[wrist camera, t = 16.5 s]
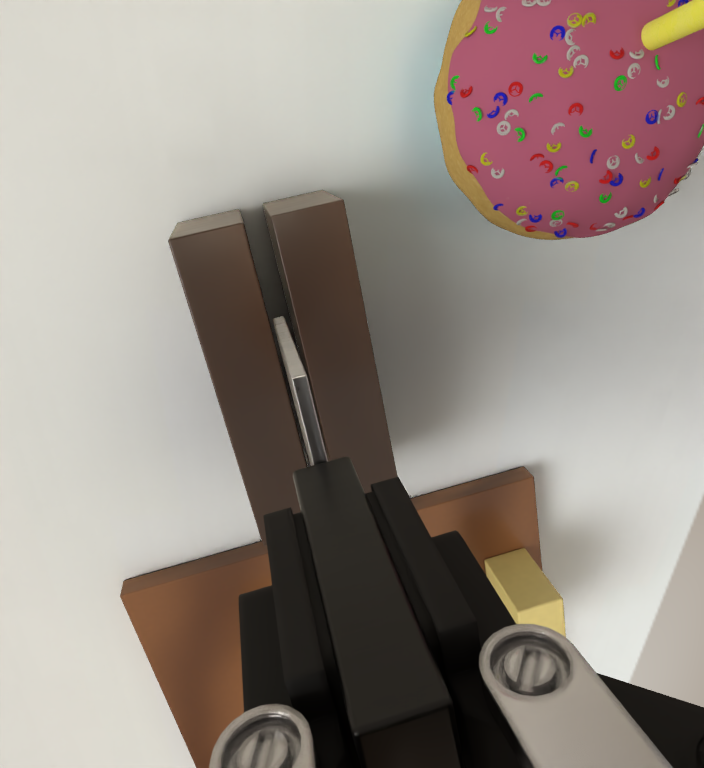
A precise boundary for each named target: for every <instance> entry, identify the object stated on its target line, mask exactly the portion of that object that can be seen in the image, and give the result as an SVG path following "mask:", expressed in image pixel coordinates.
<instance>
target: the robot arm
mask: <svg viewBox="0 0 704 768" xmlns="http://www.w3.org/2000/svg"><path fill="white" fill-rule="evenodd" d="M371 490H372V492H369V493H366V497H367V499H368V501H369V504H370V506H371V508H372V511H373V513H374V516H375V518H376V520H377V523H378V525H379V527H380V530H381V532H382V535H383V537H384V539H385V542H386V544H387V546H388V549H389V551H390V554H391V556H392V558H393V561H394V563H395V565H396V568H397V570H398V573H399V575H400V577H401V580H402V582H403V585H404V587H405V589H406V592H407V594H408V596H409V599H410V601H411V604H412V606H413V608H414V611H415V613H416V615H417V618H418V620H419V622H420V625H421V627H422V629H423V632H424V634H425V636H426V639H427V641H428V643H429V646H430V648H431V651H432V653H433V655H434V658H435V660H436V662H437V665H438V667H439V670H440V672H441V674H442V677H443V679H444V681H445V684H446V686H447V688H448V691H449V693H450V696H451V698H452V701H453V706H454V712H455V717H456V723H457V728H458V733H459V739H460V744H461V750H462V755H463V761H464V766H465V768H704V708H703V707H700V706H697V705H694V704H691V703H688V702H685V701H682V700H678V699H676V698H672V697H669V696H666V695H663V694H660V693H657V692H654V691H651V690H647V689H645V688H641V687H638V686H635V685H632V684H629V683H626V682H623V681H620V680H617V679H614V678H611V677H607V676H604V675H601V674H598V673H596V672H595V671H594V670H593V668H592V667H591V666H590V665H589V664H588V662H587V661H586V660H585V659H584V657H583V656H582V655H581V654H580V652H579V651H578V650H577V649H576V647H575V646H574V645H573V644H572V643H571V642H570V641H569V640H568V639H567V638H565V637H564V636H563V635H562V634H560V633H558V632H556V631H554V630H552V629H551V628H548V627H544V626H540V625H536V624H516V623H515V621H514V619H513V618H512V616H511V614H510V613H509V611H508V610H507V608H506V606H505V605H504V603H503V602H502V600H501V598H500V597H499V595H498V594H497V592H496V590H495V589H494V587H493V586H492V584H491V582H490V581H489V579H488V578H487V576H486V574H485V573H484V571H483V570H482V568H481V566H480V565H479V563H478V562H477V560H476V558H475V557H474V555H473V554H472V552H471V550H470V549H469V547H468V546H467V544H466V542H465V541H464V539H463V537H462V536H461V535H460V533H459V532H458V531H456V530H455V531H451V532H448V533H444V534H441V535H438V536H434V537H431V536H430V534H429V532H428V530H427V529H426V527H425V525H424V523H423V521H422V519H421V518H420V516H419V514H418V512H417V510H416V508H415V507H414V505H413V503H412V501H411V499H410V497H409V495H408V494H407V492H406V490H405V488H404V486H403V484H402V483H401V481H400V479H399V478H398V477H395V478H391V479H388V480H384V481H381V482H377V483H374V484H371ZM263 517H264V526H265V533H266V541H267V549H268V557H269V565H270V573H271V580H272V585H271V586H267V587H264V588H261V589H257V590H254V591H250V592H247V593H244V594H240V595H239V623H240V643H241V663H242V683H243V703H244V713H243V714H242V715H240V716H239V717H237V718H236V719H235V720H233V721H232V722H231V723H230V724H229V725H228V727H227V728H226V729H225V730H224V731H223V732H222V733H221V735H220V737H219V738H218V740H217V742H216V744H215V746H214V748H213V751H212V755H211V760H210V764H209V768H361V765H360V762H359V758H358V755H357V751H356V748H355V744H354V741H353V737H352V734H351V729H350V725H349V720H348V716H347V712H346V707H345V703H344V699H343V694H342V690H341V685H340V681H339V677H338V672H337V668H336V663H335V659H334V655H333V650H332V645H331V640H330V636H329V632H328V627H327V623H326V619H325V615H324V610H323V606H322V602H321V597H320V593H319V589H318V584H317V580H316V576H315V571H314V567H313V563H312V558H311V554H310V550H309V545H308V541H307V537H306V532H305V528H304V523H303V519H302V515H301V512H300V513H296V514H293V512H292V509H291V507H290V508H286V509H283V510H279V511H276V512H272V513H269V514H265V515H264V516H263Z"/></svg>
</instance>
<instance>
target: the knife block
mask: <svg viewBox="0 0 704 768" xmlns="http://www.w3.org/2000/svg"><path fill="white" fill-rule="evenodd" d="M263 209H264V213H265V217H266V221H267V226H268V230H269V234H270V238H271V242H272V246H273V250H274V254H275V258H276V262H277V266H278V270H279V274H280V278H281V282H282V286H283V291H284V295H285V299H286V303H287V307H288V311H289V315H290V319H291V323H292V327H293V331H294V335H295V339H296V343H297V347H298V351H299V356H300V359H301V361H302V364H303V367H304V369H305V372H306V374H307V378H308V382H309V386H310V391H311V395H312V399H313V403H314V407H315V411H316V415H317V419H318V423H319V427H320V431H321V436H322V440H323V444H324V448H325V452H326V456H327V460H328V461H331V460H334V459H338V458H341V457H349V458H350V459H351V461H352V463H353V466H354V468H355V471H356V473H357V475H358V478H359V480H360V482H361V485H362V487H363V489H364V492H365V494H366V493H369V492H372V490H371V484H374V483H377V482H381V481H384V480H388V479H391V478H395V477H397V472H396V467H395V462H394V456H393V451H392V446H391V441H390V436H389V431H388V425H387V420H386V415H385V410H384V405H383V400H382V395H381V389H380V384H379V379H378V374H377V369H376V364H375V359H374V353H373V348H372V343H371V338H370V333H369V328H368V323H367V317H366V312H365V307H364V302H363V297H362V292H361V287H360V281H359V276H358V271H357V266H356V261H355V256H354V251H353V245H352V240H351V235H350V230H349V225H348V220H347V215H346V209H345V204H344V200H343V199H341V198H338V197H336V196H334V195H332V194H330V193H328V192H326V191H324V190H320V191H315V192H311V193H306V194H302V195H297V196H293V197H289V198H284V199H280V200H275V201H271V202H267V203H263ZM168 242H169V245H170V248H171V251H172V255H173V258H174V261H175V264H176V267H177V271H178V274H179V277H180V280H181V283H182V287H183V290H184V293H185V296H186V299H187V303H188V306H189V309H190V312H191V315H192V319H193V322H194V325H195V328H196V331H197V335H198V338H199V341H200V344H201V347H202V351H203V354H204V357H205V360H206V363H207V367H208V370H209V373H210V376H211V379H212V383H213V386H214V389H215V392H216V395H217V399H218V402H219V405H220V408H221V411H222V415H223V418H224V421H225V424H226V427H227V431H228V434H229V437H230V440H231V443H232V447H233V450H234V453H235V456H236V459H237V463H238V466H239V469H240V472H241V475H242V479H243V482H244V485H245V488H246V491H247V495H248V498H249V501H250V504H251V507H252V511H253V514H254V517H255V520H256V523H257V527H258V530H259V533H260V536H261V539H262V543H263V545H264V546H267V541H266V533H265V526H264V517H263V516H264V515H265V514H269V513H272V512H276V511H279V510H283V509H286V508H290V507H291V509H292V512H293V514H296V513H300V512H301V510H300V506H299V502H298V497H297V493H296V488H295V484H294V480H293V472H294V471H295V470H298V469H302V468H306V467H307V464H306V460H305V456H304V452H303V449H302V445H301V441H300V437H299V433H298V429H297V426H296V422H295V418H294V414H293V410H292V406H291V403H290V399H289V395H288V391H287V387H286V383H285V380H284V376H283V372H282V368H281V364H280V360H279V357H278V353H277V349H276V345H275V341H274V337H273V334H272V330H271V326H270V322H269V318H268V314H267V311H266V307H265V303H264V299H263V295H262V291H261V288H260V284H259V280H258V276H257V272H256V268H255V265H254V261H253V257H252V253H251V249H250V245H249V242H248V238H247V234H246V230H245V226H244V223H243V219H242V216H241V212H240V210H239V209H236V210H231V211H227V212H223V213H218V214H214V215H209V216H205V217H201V218H196V219H192V220H187V221H183V222H178V223H177V225H176V227H175V229H174V230H173V232H172V234H171V236H170V238H169V241H168Z"/></svg>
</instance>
